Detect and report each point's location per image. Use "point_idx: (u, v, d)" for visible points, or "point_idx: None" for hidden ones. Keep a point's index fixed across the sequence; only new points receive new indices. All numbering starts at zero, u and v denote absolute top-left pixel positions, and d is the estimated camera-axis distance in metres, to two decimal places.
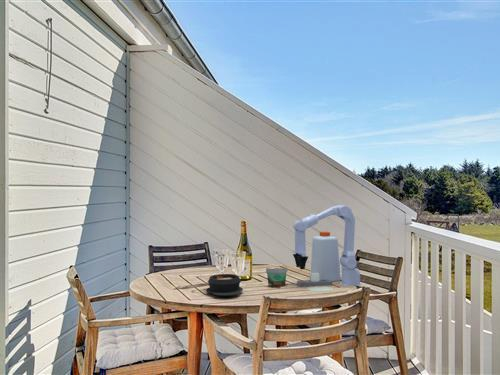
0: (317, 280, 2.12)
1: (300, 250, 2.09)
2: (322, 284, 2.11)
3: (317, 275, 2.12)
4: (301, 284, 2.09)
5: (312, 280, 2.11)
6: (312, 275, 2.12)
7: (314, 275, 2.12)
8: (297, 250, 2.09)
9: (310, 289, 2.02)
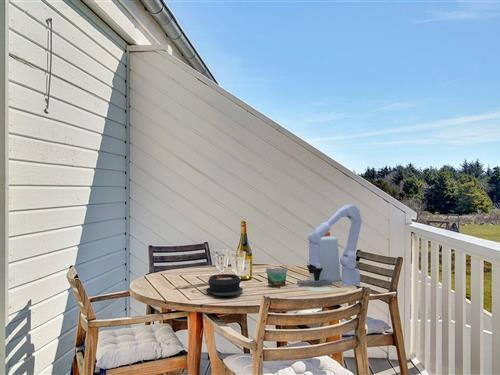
0: None
1: (314, 262, 2.11)
2: (322, 284, 2.11)
3: None
4: (301, 284, 2.09)
5: (312, 280, 2.11)
6: (312, 275, 2.12)
7: None
8: (311, 261, 2.11)
9: (310, 289, 2.02)
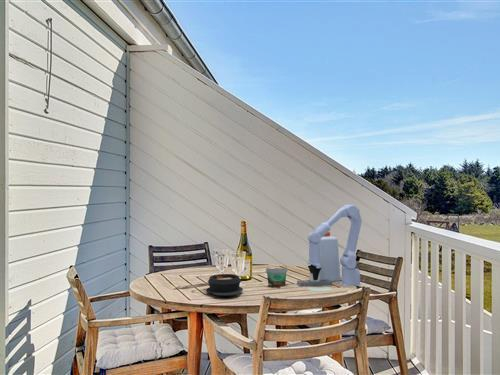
0: (317, 280, 2.12)
1: (314, 262, 2.11)
2: (322, 284, 2.11)
3: None
4: (301, 284, 2.09)
5: (312, 280, 2.11)
6: (312, 275, 2.12)
7: None
8: (311, 261, 2.11)
9: (310, 289, 2.02)
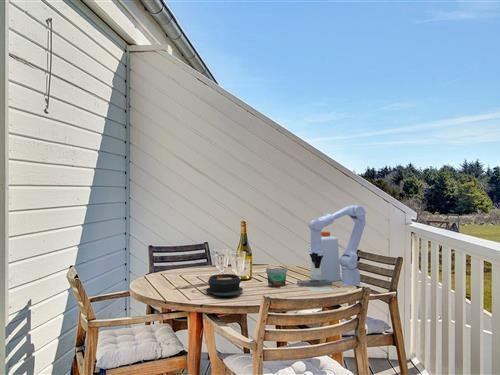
0: (318, 269, 2.09)
1: (316, 249, 2.08)
2: (322, 284, 2.11)
3: None
4: (301, 284, 2.09)
5: (313, 269, 2.08)
6: (313, 264, 2.08)
7: None
8: (313, 249, 2.08)
9: (310, 289, 2.02)
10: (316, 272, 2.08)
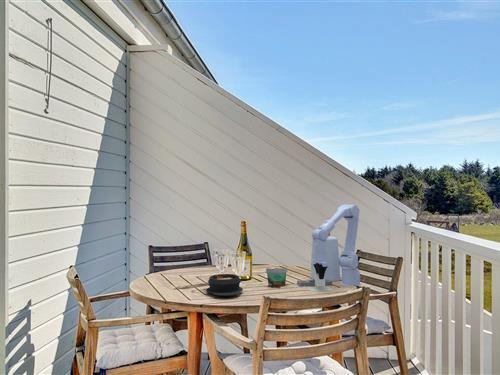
0: (323, 281, 2.02)
1: (320, 260, 2.01)
2: None
3: None
4: (301, 284, 2.09)
5: (317, 281, 2.02)
6: (317, 275, 2.02)
7: None
8: (317, 260, 2.02)
9: (310, 289, 2.02)
10: (320, 284, 2.02)
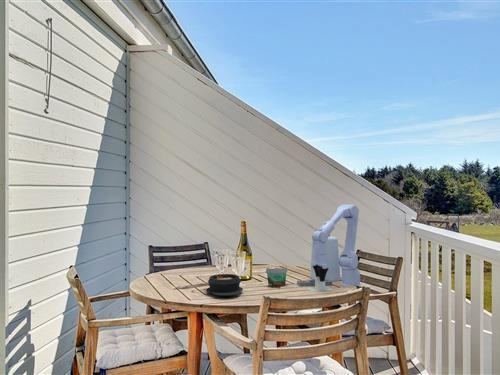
0: (323, 284, 2.02)
1: (320, 262, 2.01)
2: None
3: None
4: (301, 284, 2.09)
5: (318, 284, 2.02)
6: (318, 279, 2.02)
7: None
8: (317, 262, 2.01)
9: (310, 289, 2.02)
10: (320, 287, 2.02)
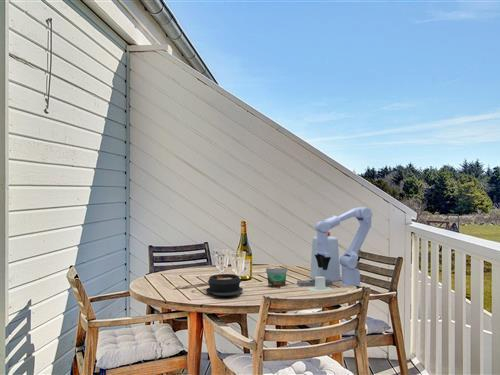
0: (323, 284, 2.02)
1: (322, 251, 2.09)
2: None
3: (323, 279, 2.02)
4: (301, 284, 2.09)
5: (318, 284, 2.02)
6: (318, 279, 2.02)
7: (320, 279, 2.02)
8: (319, 251, 2.10)
9: (310, 289, 2.02)
10: (320, 287, 2.02)
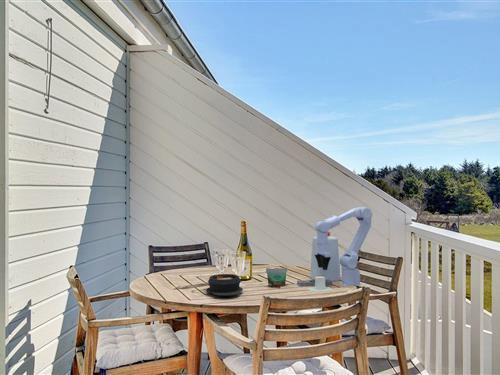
0: (323, 284, 2.02)
1: (322, 251, 2.09)
2: None
3: (323, 279, 2.02)
4: (301, 284, 2.09)
5: (318, 284, 2.02)
6: (318, 279, 2.02)
7: (320, 279, 2.02)
8: (319, 251, 2.10)
9: (310, 289, 2.02)
10: (320, 287, 2.02)
